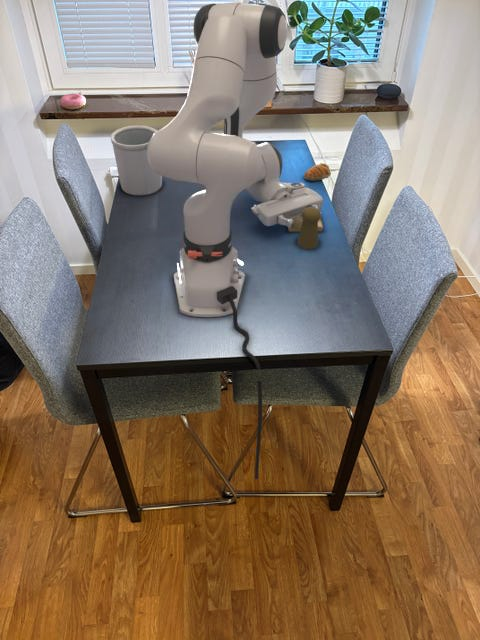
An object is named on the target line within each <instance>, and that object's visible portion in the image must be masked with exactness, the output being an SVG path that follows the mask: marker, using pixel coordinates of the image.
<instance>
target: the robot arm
mask: <svg viewBox="0 0 480 640" xmlns="http://www.w3.org/2000/svg"><path fill="white" fill-rule="evenodd" d="M193 37H194V38H193V39H194V41H195V44H196V46H197V47H196V51H195V57H194V61H193V68H192V73H191V79H190V83H189V88H188V92H187V95H186V99H185V100H184V103H183V105H182V107H181V109H180V110H179V111H178V113H177V114H176V116H175V117H173V119H172V120H171V121H170V122H169V123H168V124H167V125H165V126H163V127H162V128H161V129H159V130H157V132H156V133H155V134H154V135H153V136H152V138H151V139H150V141H149V144H148V149H147V157H148V162H149V164H150V166H151V168H152V170H153V171H154V172H155V173H156V174H159V175H161V176H162V177H163V178H167V179H169V180H173V181H179V182H185V183H193V184H200V185H203V186H204V188H205V189H203V190H200V191H197V192H195V193H193V194H191V196H189V197H188V198H187V199H186V201H185V202H184V205H183V208H182V213H183V224H184V230H183V237H182V238H183V239H182V242H183V247H182V248H181V249H180V250H179V262H180V266H179V263H178V262H177V263H176V265H177V271H176V272H175V273H174V274H173V283H174V288H175V293H176V298H177V304H178V308H179V313H181V314H183V315H185V316H190V317H195V318H219V317H226V316H229V315H233V319H232V322H233V326H234V328H235V330H236V331H238V333H241V334H243V335H244V336H245V337H244V341H243V342H242V345H241V348H242V352H243V353H244V354H245V355H246V356H247V357H248V359H251V360H252V362H253V364H254V365H255V368H256V370H257V371H260V370H261V369H262V368H261V367H262V366H261V364H260V362H259V360H258V358H257V357H256V356H255V355H253V353H251V352H250V351H249V350H248V348H247V345H248V343H249V341H250V334H249V332H248V331H247V330H245V329H244V328H242V327H241V326H239V323H238V311H237V309H238V306H239V302H240V298H241V295H242V292H243V288H244V283H245V281H246V274H245V273H244V272H243V271H242V270H239V265H240V266H244V262H243V260H240V259H239V258H238V257H239V256H238V250H237V249H236V248H235V247H234V246H233V234H232V230H231V211H232V206H233V204H234V201H235V200H236V198H237V197H238V195H239V194H240V193H242V191H243V192H244V190H245V191H246V192H247V193H248V194H249V195H250V196H251V197H252V198H253V199H254V200H256V201H257V202H260V203H259V204H254V205H253V207H251V212H252V213H253V214H255V215H256V217H257V218H258V220H259V221H260V222H261V224H263V225H264V226H266V227H271V226H275V225H280V226H281V225H282V226H286V227H287V228H288V227H289V228H290V227H293V226H294V221H293V220H292V219H293V218H296V217H299V216H302V212H303V210H304V209H305V208H307V207H315V208H317V209H318V210H319V211H320V210H322V208H323V203H324V199H323V197H322V195H320V194H319V193H318V192H316V191H314V190H313V189H312V188H309V187H306V184H305V183H303V182H282V181H280V178H281V175H282V170H283V157H282V153H281V152H280V150H278V148H277V147H276V146H275V145H274V144H272V143H270V142H267V141H265V142H263V143H260V144H257V143H256V142H255V141H252V140H250V139H247V138H244V137H243V135H244V134H243V133H244V130H245V127H246V126H247V124H248V123H250V121H251V120H252V119H253V118H254V117H255V116H256V115H257V114H258V113H260V111H262V110H263V109H264V108H266V107H267V106H268V105H269V103H271V101H272V100H273V98H274V97H275V94H276V91H277V87H278V86H277V84H278V74H277V73H278V71H277V58H276V57H278V56H279V55H280V53H282V52H283V51H284V49H285V46H286V42H287V39H288V22H287V17H286V15H285V13H284V12H283V10H282V9H281V8H280V7H279V6H275V5H272V4H266V5H262V4H254V3H242V2H227V3H226V2H225V3H218V4H217V3H209V4H205V5H203V6H201V7H200V8H199V10H198V11H197V12H196V14H195V16H194V21H193ZM221 121H223V133H217V132H210V131H211V129H212V128H213V127H214V126H215V125H216V124H217V123H219V122H221ZM320 214H321V216H320V218H321V217H322V211H320ZM262 385H263V382H262V380H257V429H256V430H257V432H256V433H257V434H256V448H255V449H256V450H255V461H254V462H255V465H254V479H255V480H259V468H260V467H259V466H260V453H261V442H262V441H261V438H262V427H263V426H262V422H263V386H262Z"/></svg>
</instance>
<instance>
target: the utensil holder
mask: <svg viewBox="0 0 480 640" xmlns="http://www.w3.org/2000/svg"><path fill="white" fill-rule="evenodd" d="M157 131H158V130H157V129H156V128H154V127H151V126H149V125H148V126H147V125H140V124H139V125H128V126H123V127H121V128H120V127H119V128H118V129H116V130H115V131H113V132H112V133H111V134H110V142H111V144H112V148H113V153H114V158H115V164H116V168H117V174H118V178H119V184H120V186H121V187H120V188H121V190H122V191H123V192H124V193H126V194H128V195H132V196H147V195H151V194H155V193H156V192H158V191H160V189H161V188H162V186H163V176H161V175H159V174H156V173H155V172H154V171H153V170H152V168H151V166H150V164H149V162H148V157H147V149H148V144H149V141H150V139H151V138H152V136H153V135H154V134H155V133H156V132H157Z"/></svg>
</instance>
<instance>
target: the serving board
mask: <svg viewBox="0 0 480 640" xmlns="http://www.w3.org/2000/svg"><path fill="white" fill-rule="evenodd" d="M292 220H293V221H294V226H293V227H290V228H289V227H288V226H287V230H288V232H296V233H297V232H299V233H300V230H301V226H302V222H303V219H302V216H299V217H296V218H293V219H292ZM323 228H324V227H323V223H322V218H321V217H320V219H319V221H318V232H323Z"/></svg>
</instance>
